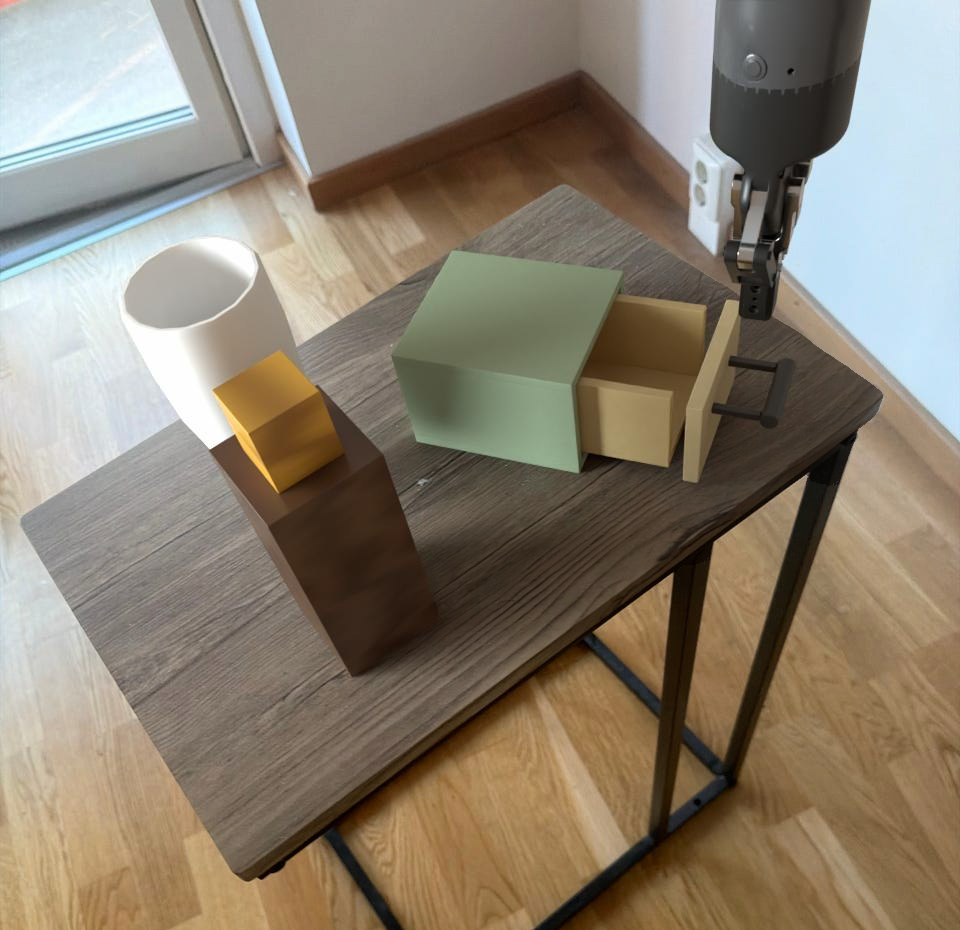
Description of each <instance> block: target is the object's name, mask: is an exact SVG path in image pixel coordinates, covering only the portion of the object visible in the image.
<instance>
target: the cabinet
mask: <svg viewBox="0 0 960 930" xmlns="http://www.w3.org/2000/svg"><path fill="white" fill-rule="evenodd" d="M624 273H625V272H624V270H617V269H608V268H601V267H594V266H585V265H577V264H570V263H561V262H552V261H545V260H536V259H529V258H520V257H511V256H504V255H497V254H490V253H489V254H486V253H482V252H481V253H480V252H471V251H465V250H464V251H463V250H456V249H452V251H451V252H450V254H449V256H448V258H447V259H446V261H445V263H444V264H443V266H442V268H441V269H440V271H439V273H438V274H437V276H436V278H435V280H434V282H433V283H432V285H431V286H430V288H429V289H428V292H427V293H426V295H425V296H424V298H423V300H422V302H421V303H420V305H419V307H418V308H417V310H416V312H415V314H414V315H413V316H412V319H411V320H410V322H409V324H408V325H407V327H406V329H405V331H404V333H403V334H402V336H401V337H400V339H399V340H398V342H397V345H396V346H395V348H394V349H393V351H392V353H391V354H390V357H391V361H392V363H393V367H394V371H395V374H396V377H397V381H398V385H399V387H400V390H401V393H402V398H403V400H404V404H405V407H406V410H407V413H408V417H409V420H410V423H411V427H412V431H413V433H414V436H415V437H414V438H415V440H416V442H417V443H422V444H427V445H432V446H437V447H442V448H446V449H452V450H458V451H463V452H466V453H472V454H477V455H482V456H488V457H493V458H496V459H497V458H499V459H502V460H507V461H513V462H519V463H523V464H529V465H534V466H539V467H544V468H549V469H554V470H558V471H563V472H569V473H574V474H580V473H581V471H582V469H583V468H584V464H585V462H586V459H587V457H588V455H589V453H588V452H583V451H581V443H580V431H579V420H578V408H577V397H576V383H577V381H578V379H579V377H580V375H581V372H582V370H583V368H584V366H585V364H586V361H587V359H588V357H589V355H590V353H591V350H592V348H593V346H594V344H595V342H596V339H597V337H598V335H599V333H600V331H601V328H602V326H603V324H604V322H605V320H606V317H607V315H608V313H609V311H610V309H611V306H612V304H613V302H614V300H615V298H616V295H617V294H623V295H625V274H624Z"/></svg>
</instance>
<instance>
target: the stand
mask: <svg viewBox="0 0 960 930" xmlns="http://www.w3.org/2000/svg"><path fill="white" fill-rule="evenodd" d="M314 386H315V387H316V388H317V389H318V390H319V391H320V393H321V396H322V398H323V401H324V403H325V405H326V408H327V410H328V413H329V415H330V418H331V420H332V423H333V425H334V428H335V430H336V433H337V435H338V438H339V440H340V443H341V445H342V448H343V450H344V454H342V455H340V456H339V457H337V458H336V459H334V460H332V461H331V462H329V463H328V464H326V465H324V466H323V467H321V468H320V469H318V470H316V471H315V472H313V473H312V474H310V475H308V476H307V477H305V478H304V479H302V480H300V481H299V482H297V483H296V484H294V485H292V486H291V487H289V488H288V489H286V490H284V491H283V492H281V493H278V492H277V491H276V490H275V488H274V487H273V486H272V485H271V484H270V482H269V481H268V480H267V479H266V477H265V476H264V475H263V474H262V472H261V471H260V470H259V469H258V467H257V466H256V465H255V464H254V462H253V461H252V460H251V459H250V458H249V456H248V455H247V454H246V453H245V451H244V450H243V448H242V446H241V444H240V442H239V441H238V439H237V437H236V435H235V434H234V435H232V436H231V437H229V438H228V439H226V440H224V441H223V442H221V443H219V444H218V445H216V446H214V447H213V448H211V449H210V448H208V453H209V454H210V455H209V456H211V458H212V460H213V462H214V463H215V465H216V467H217V468H218V470H219V472H220V474H221V475H222V477H223V479H224V480H225V482H226V484H227V485H228V487H229V488H230V490H231V492H232V494H233V496H234V498H235V499H236V501H237V503H238V505H239V506H240V508H241V509H242V511H243V513H244V515H245V517H246V518H247V520H248V521H249V523H250V525H251V527H252V528H253V531H254V532H255V533H256V535H257V537H258V539H259V540H260V542H261V544H262V546H263V548H264V549H265V550H266V553H267V554H268V556H269V558H270V560H271V561H272V563H273V564H274V566H275V568H276V569H277V572H278V573H279V575H280V577H281V578H282V580H283V583H284V584H285V585H286V586H287V589H288V590H289V592H290V594H291V595H292V597H293V599H294V601H295V603H296V604H297V606H298V607H299V609H300V611H301V612H302V613H303V615H304V616H305V617H306V618H307V620H308V622H309V623H310V624H311V626H312V627H313V628H314V630H315V631H316V632H317V633H318V635H319V636H320V638H321V639H322V640H323V641H324V643H325V644H326V645H327V647H328V648H329V649H330V651H331V653H332V654H333V655H334V656H335V657H336V659H337V661H338V662H339V663H340V664H341V665H342V667H343V668H344V669H345V671H346V672H347V673H348V675H349V676H350V677H351V678H354V677H355V676H357V675H358V674H360V673H362V672H363V671H364V670H366V669H367V668H369V667H370V666H372V665H373V664H374V663H376V662H378V661H379V660H381V659H382V658H384V657H385V656H386V655H388V654H390V653H391V652H392V651H394V650H396V649H397V648H399V647H400V646H401V645H403V644H404V643H405V642H407V641H409V640H410V639H412V638H413V637H414V636H416V635H417V634H419V633H420V632H422V631H423V630H425V629H426V628H428V627H429V626H431V625H432V624H434V623H435V622H436V621H438V620H440V619H441V614H440V611H439V608H438V606H437V603H436V600H435V597H434V594H433V591H432V588H431V585H430V583H429V580H428V576H427V575H426V572H425V568H424V566H423V563H422V560H421V557H420V554H419V551H418V549H417V546H416V543H415V541H414V537H413V535H412V531H411V529H410V526H409V523H408V519H407V517H406V515H405V512H404V509H403V506H402V503H401V500H400V497H399V494H398V491H397V489H396V486H395V483H394V480H393V478H392V474H391V471H390V469H389V467H388V464H387V460H386V457H385V454H384V453H383V452H382V451H381V450H380V449H379V448H378V447H377V445H375V444H374V442H372V440H370V438H369V437H368V436H367V434H366V433H364V432H363V431H362V429H361V428H359V427H358V426H357V424H356V423H355V422H354V421H353V420H352V419H351V418H350V417H349V415H347V414H346V413H345V412H344V410H343V409H341V407H340V406H339V405H338V404H337V403H336V402H335V401H334V400H333V399H332V398H331V397H330V396H329V395H328V394H327V392H326V391H324V389H322V387H321V386H320V385H319V384H316V385H314Z"/></svg>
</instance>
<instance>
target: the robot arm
mask: <svg viewBox="0 0 960 930" xmlns="http://www.w3.org/2000/svg"><path fill="white" fill-rule="evenodd" d="M871 5H872V0H715V9H714V30H713V47H712V49H713V50H712V65H711V66H712V67H711V85H710V105H709V107H710V108H709V125H708V126H709V127H708V128H709V134H710V137H711V140H712V142H713V143H714V145H715V146H716V148H717V149H718V150H719V151H720V152H722V153H723V154H724V155H726V156H727V157H729V158H731V159H732V160H734V161H735V162H736V163H737V164H738V165H740V166H741V168H740V169H741V170H740V171H735V172H734V174H733V177H732V182H731V188H730V205H731V206H732V207H733V225H732V238H731V239H728V240H727V241H726V245H724V246H723V249H722V256H723V263H724V266H725V267H726V270H727V273H728V275H729V278H730V281H731V283H732V284H738V285H740V290H739V298H738V299H739V300H738V301H739V310H738V314H739V316H740V317H741V319H744V320H751V321H752V320H753V321H759V322H767V321H769V320H771V319H772V316H773V314H774V310H775V308H776V304H777V301H778V293H779V286H780V280H781V272H782V270H783V265H784V263H783V261H784V260H785V257H786V255H788V253H789V248H790V245H791V241H792V238H793V235H794V232H795V228H796V227H797V223H798V221H799V219H800V215H801V212H802V206H803V200H804V193H805V187H806V185H807V183H808V180H809V178H810V175H811V173H812V170H813V164H814V159H816V158H819V157H820V156H822V155H824V154H826V153H827V152H829V151H830V150H831V149H833V148H834V147H835V146H836V145H837V144H838V143H839V142H840V141H841V140H842V139H843V137H844V136H845V134H846V133H847V131H848V128H849V125H850V122H851V117H852V110H853V105H854V99H855V94H856V88H857V82H858V77H859V71H860V66H861V60H862V54H863V50H864V43H865V38H866V33H867V32H866V31H867V27H868V21H869V16H870V11H871Z"/></svg>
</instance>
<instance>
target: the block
mask: <svg viewBox="0 0 960 930" xmlns="http://www.w3.org/2000/svg"><path fill="white" fill-rule="evenodd" d="M306 376H307V375H306ZM306 376H305V375H304V374H303V373H302V372H301V371H300V369H299V368H298V367H297V366H296V365H295V364H294V363H293V362H292V361H291V360H290V359H289V358H288V357H287V356H286V355H285V353H284V352H283V351H282V350H279V351H277V352H276V353H274V354H272V355H271V356H269V357H267V358H265V359H264V360H262V361H260V362H259V363H257V364H255V365H254V366H252V367H250V368H248V369H247V370H245V371H243V372H242V373H240V374H238V375H237V376H235V377H233V378H231V379H230V380H228V381H226V382H225V383H223V384H221V385H220V386H218V387H216V388H214V389H213V390H212V392H213V394H214V396H215V398H216V399H217V401H218V403H219V405H220V407H221V409H222V411H223V412H224V414H225V416H226V418H227V420H228V422H229V424H230V426H231V427H232V429H233V431H234V433H235V435H236V437H237V439H238V441H239V442H240V444H241V446H242V448H243V450H244V451H245V453H246V454H247V455H248V456H249V458H250V459H251V460H252V461H253V462H254V464H255V465H256V466H257V467H258V469H259V470H260V471H261V472H262V474H263V475H264V476H265V477H266V479H267V480H268V481H269V482H270V484H271V485H272V486H273V487H274V488H275V490H276V491H277V492H278V493H281V492H283V491H284V490H286V489H288V488H289V487H291V486H292V485H294V484H296V483H297V482H299V481H300V480H302V479H304V478H305V477H307V476H308V475H310V474H312V473H313V472H315V471H316V470H318V469H320V468H321V467H323V466H324V465H326V464H328V463H329V462H331V461H332V460H334V459H336V458H337V457H339V456H340V455H342V454H344V450H343V448H342V445H341V443H340V440H339V438H338V435H337V433H336V430H335V428H334V425H333V423H332V420H331V418H330V415H329V413H328V410H327V408H326V405H325V403H324V401H323V398H322V396H321V393H320V391H319V390H318V389H317V388H316V387H315V386H316V385H315V384H314V383H313V382H312V381H311V380H310V379H309V378H308V376H307V377H306Z"/></svg>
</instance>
